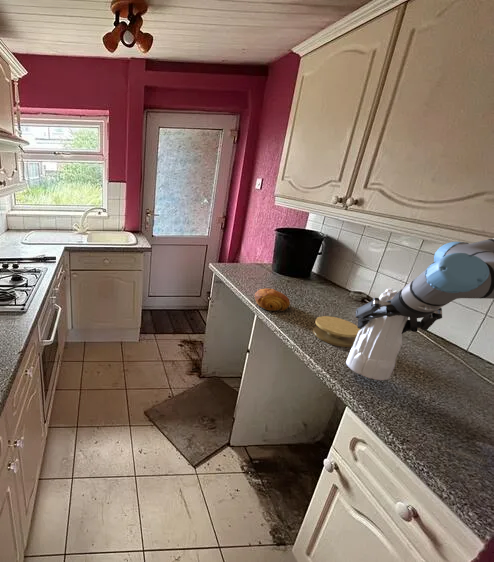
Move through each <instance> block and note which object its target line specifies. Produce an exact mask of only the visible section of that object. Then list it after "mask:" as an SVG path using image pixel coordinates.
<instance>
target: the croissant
mask: <svg viewBox="0 0 494 562" xmlns="http://www.w3.org/2000/svg"><path fill="white" fill-rule="evenodd" d="M254 300H255V302H256V304H257V305H258V306H259V307H260V308H262V309H264V310H266V311H271V312H272V311H275V312H276V311H279V312H282V311H286V310H287V309H288V308H289V307H290V305H291V302H290V299H289V298H288V296H286V295H285V294H284V293H283V292H281V291H278V290H276V289H275V288H267V287H265V288H260V289H258V290H257V291H256V292H255V293H254Z"/></svg>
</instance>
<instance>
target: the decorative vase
mask: <svg viewBox="0 0 494 562" xmlns="http://www.w3.org/2000/svg"><path fill="white" fill-rule="evenodd" d="M398 292H399V291H398V290H397V289H396V290H394V289H393V288H392V287H388V288H386V289H385V291H383V292H382V293H381V294H380V295H379V297H378V298H379V300H380V301H384V302H386V301H388V300H391V299H393V297H394V296H395V295H396V294H397V293H398ZM409 319H410V317H406V316H402V315H399V316H398V315H395V316H391V317H388V316H383V317H379V318H375V319H370V322H369V323H367V324H366V325H365V326H364V327H362V328H361V329H360V331H359V332H358V334H357V337H356V339H355V342H354V344H353V347H350V350H349V353H348V355H347V358H346V361H345V364H346V366H347V367H348V369H350V370H351V371H352V372H354V373H355V374H357V375H361V376H363V377H365V378H368V379H370V380H375V381H388V380H389V379H390V378H391V377H392V373H393V372H394V369H395V367H396V361H397V357H398V354H399V352H400V350H401V347H402V346H403V334H402V331H403V329H404V327H405V324H406V322H407V320H409Z"/></svg>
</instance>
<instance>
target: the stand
mask: <svg viewBox="0 0 494 562" xmlns="http://www.w3.org/2000/svg"><path fill="white" fill-rule="evenodd" d="M315 325H316V326H314V327H313V328H312V334H313V335H314V336H315V338H317V339H318V340H320V341H322V342H325V343H327V344H329V345H333V346H336V347H341V348H352V347H353V344H354V342H355V339H356V337H357V334H358V332H359V331H360V330H361V329H359V328H358V325H357V324H355V323H353V322H351V321H348V320H347V319H343V318H340V317H336V316H329V315H323V316H322V315H321V316H318V317H316V319H315Z"/></svg>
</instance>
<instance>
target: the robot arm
mask: <svg viewBox="0 0 494 562" xmlns="http://www.w3.org/2000/svg"><path fill="white" fill-rule="evenodd" d="M457 299H488V300H490V299H492V300H493V299H494V237H491V238H488V239H484V240H480V241H476V242H471V243H469V242H465V241H450V242H447V243H445V244H443V245H441V246H440V247H439V248H437V250H435V252H434V256H433V262H432V263H430V264H429V265H428V266H427V268H426V269H425V270H423V271H422V272H421V273H420V274H419V275H417V276H416V277H415V278H413V279H412V280H411V281H410V282H408V283H407V284H406V285H404V286H403V287H402V288H401V289H400V290H399V291H398V292H397V294H396V295H395V296H394V297H393V299H391V300H388V301H386V302H384V301H380V300H379V297H373V298H372V300H371V301H369V302H368V303H365V304H363V305H361V306H360V307H357V308H356V309H355V318H356V319H357V326H358V328H359V329H360V330H361V329H362V328H363V327H364V326H365V325H366V324H367V323H369V322H370V319H375V318H379V317H383V316H388V317H391V316H395V315H398V316H399V315H402V316H406V317H409V319H408V320H407V322H406V324H405V327H404V329H403V331H402V335H403V334H405V333H407V332H412V333H418V329H420V330H422V331H428V330H429V328H431V327H432V326H433V325H434V323H435V322H436V321H438V320H441V319H443V307H444V306H447V305H448V304H450V303H451V302H453V301H455V300H457ZM418 319H421V320H420V321H419V320H418Z"/></svg>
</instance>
